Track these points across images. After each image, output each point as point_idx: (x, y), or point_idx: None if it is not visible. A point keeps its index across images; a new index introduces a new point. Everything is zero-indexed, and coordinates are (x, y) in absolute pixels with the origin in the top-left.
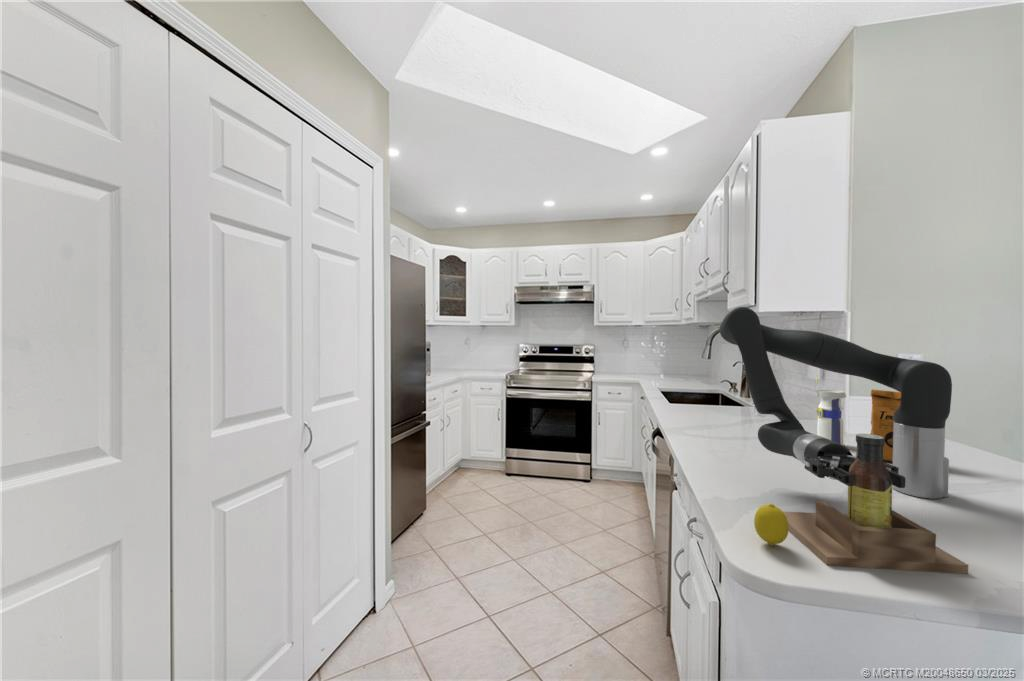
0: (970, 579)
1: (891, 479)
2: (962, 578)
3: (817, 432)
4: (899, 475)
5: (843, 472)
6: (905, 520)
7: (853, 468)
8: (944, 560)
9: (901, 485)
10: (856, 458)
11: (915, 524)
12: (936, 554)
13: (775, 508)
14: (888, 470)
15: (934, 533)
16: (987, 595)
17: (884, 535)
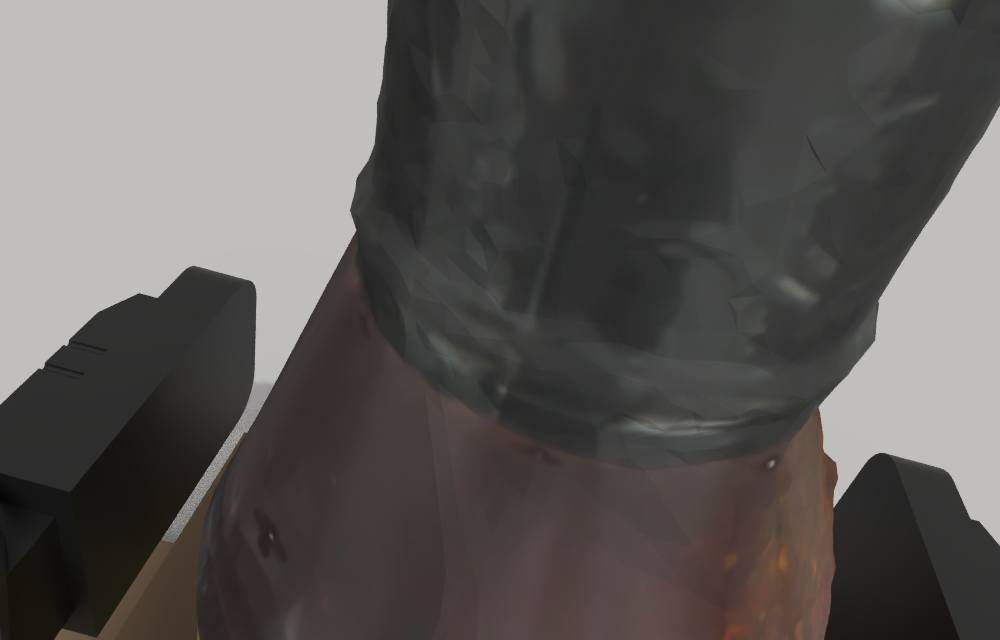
0: None
1: (168, 465)
2: (170, 527)
3: None
4: (206, 292)
5: (982, 569)
6: (181, 631)
7: (833, 511)
8: (142, 570)
9: (251, 360)
10: (781, 463)
11: (192, 558)
12: (83, 635)
13: None
14: (54, 452)
15: (240, 440)
16: (244, 430)
17: None
